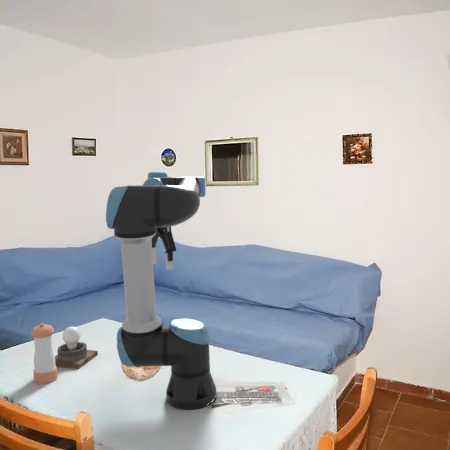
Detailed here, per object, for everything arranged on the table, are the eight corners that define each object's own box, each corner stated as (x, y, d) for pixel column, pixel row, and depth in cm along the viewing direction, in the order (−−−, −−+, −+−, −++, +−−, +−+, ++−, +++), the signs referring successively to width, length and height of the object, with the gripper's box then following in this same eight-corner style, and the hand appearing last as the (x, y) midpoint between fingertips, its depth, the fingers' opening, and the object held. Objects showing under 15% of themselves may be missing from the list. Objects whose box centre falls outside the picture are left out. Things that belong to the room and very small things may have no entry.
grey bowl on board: (78, 368, 159) (78, 355, 159) (46, 365, 163) (45, 352, 162) (97, 354, 172) (97, 341, 171) (67, 352, 175) (66, 339, 175)
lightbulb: (64, 353, 169) (62, 325, 168) (81, 351, 171) (80, 323, 170) (63, 360, 163) (61, 330, 162) (81, 357, 165) (80, 328, 164)
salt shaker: (47, 372, 157) (44, 319, 155) (62, 377, 153) (58, 322, 151) (29, 381, 151) (25, 325, 149) (43, 385, 147) (39, 328, 145)
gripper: (184, 213, 166) (186, 270, 168) (153, 210, 186) (155, 261, 189) (166, 215, 162) (168, 273, 164) (136, 211, 182) (138, 263, 184)
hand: (161, 266), depth 176 cm, fingers open, 13 cm apart
